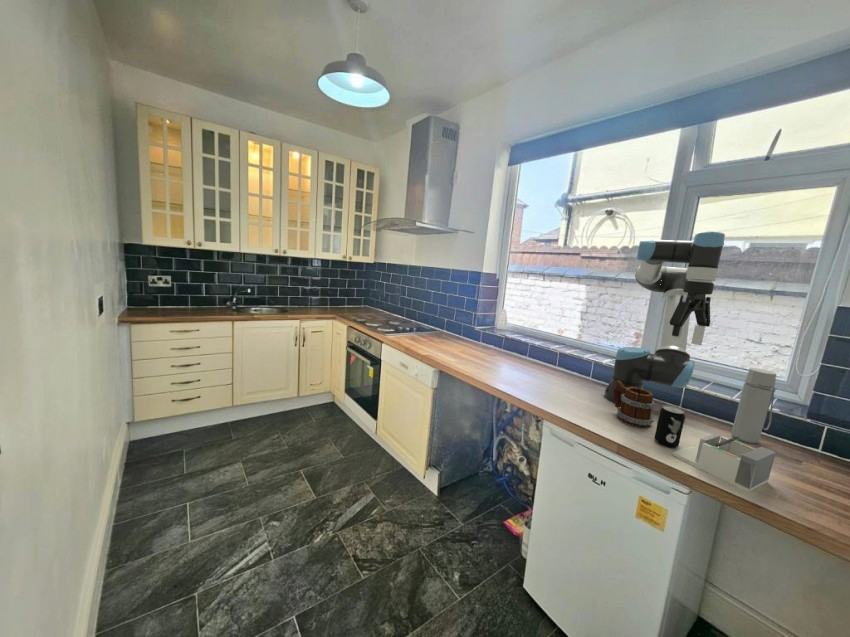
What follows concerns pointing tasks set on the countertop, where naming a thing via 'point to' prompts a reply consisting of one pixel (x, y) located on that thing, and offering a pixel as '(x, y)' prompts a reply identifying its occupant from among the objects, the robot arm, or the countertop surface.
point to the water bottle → (754, 405)
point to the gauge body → (732, 463)
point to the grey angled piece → (714, 443)
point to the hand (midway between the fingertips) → (685, 345)
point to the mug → (634, 405)
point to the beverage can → (669, 426)
